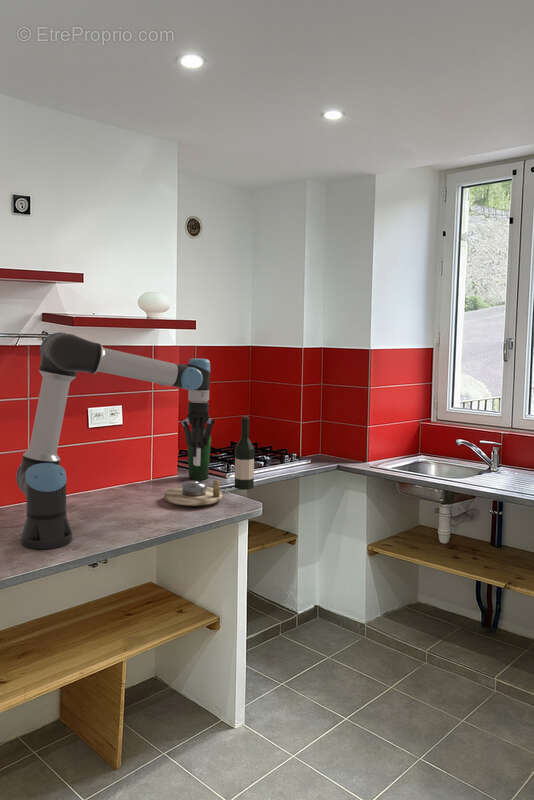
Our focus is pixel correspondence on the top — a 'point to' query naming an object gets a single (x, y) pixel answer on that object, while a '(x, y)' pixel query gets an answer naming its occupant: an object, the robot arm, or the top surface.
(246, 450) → the wine bottle
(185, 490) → the cover
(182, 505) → the turntable base
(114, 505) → the top surface
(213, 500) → the turntable
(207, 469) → the bottle
